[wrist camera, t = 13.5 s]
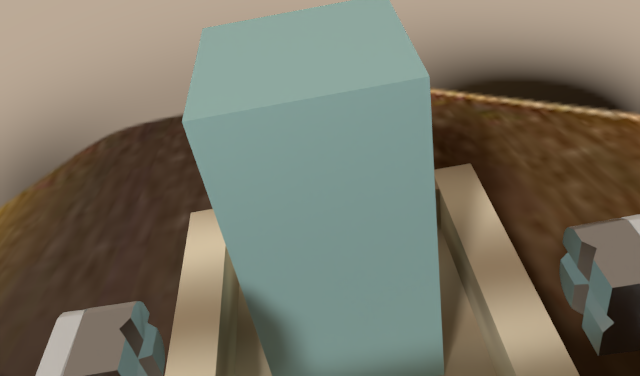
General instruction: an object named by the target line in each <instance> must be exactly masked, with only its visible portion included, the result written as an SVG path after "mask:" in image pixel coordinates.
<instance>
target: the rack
mask: <svg viewBox="0 0 640 376" xmlns="http://www.w3.org/2000/svg"><path fill="white" fill-rule="evenodd" d="M434 178H435V198H436V218H437V238H438V258H439V278H440V298H441V319H442V339H443V359H444V375H441V376H580V375H579V373H578V371H577V369H576V368H575V366H574V364H573V362H572V360H571V358H570V356H569V354H568V352H567V350H566V348H565V346H564V344H563V342H562V340H561V338H560V336H559V334H558V332H557V331H556V329H555V327H554V325H553V323H552V321H551V319H550V317H549V315H548V313H547V311H546V309H545V307H544V305H543V303H542V301H541V299H540V297H539V296H538V294H537V292H536V290H535V288H534V286H533V284H532V282H531V280H530V278H529V276H528V274H527V272H526V270H525V268H524V266H523V264H522V262H521V260H520V259H519V257H518V255H517V253H516V251H515V249H514V247H513V245H512V243H511V241H510V239H509V237H508V235H507V233H506V231H505V229H504V227H503V225H502V224H501V222H500V220H499V218H498V216H497V214H496V212H495V210H494V208H493V206H492V204H491V202H490V200H489V198H488V196H487V194H486V192H485V190H484V188H483V187H482V185H481V183H480V181H479V179H478V177H477V175H476V173H475V171H474V169H473V167H472V165H471V163H470V164H464V165H459V166H453V167H447V168H442V169H436V170H434ZM165 376H272V374H271V371H270V368H269V365H268V362H267V359H266V357H265V354H264V351H263V348H262V345H261V343H260V340H259V337H258V334H257V331H256V329H255V326H254V323H253V320H252V317H251V314H250V312H249V309H248V306H247V303H246V300H245V298H244V295H243V292H242V289H241V286H240V284H239V281H238V278H237V275H236V272H235V269H234V267H233V264H232V261H231V258H230V255H229V253H228V250H227V247H226V244H225V241H224V239H223V236H222V233H221V230H220V227H219V225H218V222H217V219H216V216H215V213H214V210H213V209H210V210H204V211H199V212H193V213H191V216H190V223H189V229H188V235H187V241H186V247H185V254H184V260H183V266H182V272H181V279H180V285H179V291H178V297H177V304H176V310H175V316H174V322H173V328H172V335H171V341H170V347H169V353H168V360H167V366H166V372H165Z"/></svg>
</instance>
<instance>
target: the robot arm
mask: <svg viewBox="0 0 640 376" xmlns="http://www.w3.org/2000/svg"><path fill="white" fill-rule="evenodd" d="M563 245H564V246H565V248H566V250H567V251H568V253H567V254H566V255H565V256H564V257H563V258H562V259H561V260H560V279H561V285H562V289H563V291H564V294H565V297H566V299H567V301H568V303H569V304H570V306H571V308H572V309H574V310H576V311H577V312H579V313H581V314H582V315H584V316H583V323H582V328H583V330H584V332H585V333H586V335H587V337H588V339H589V340H590V342H591V344H592V346H593V348H594V349H595V351H596V353H597V355H598V356H602V355H609V354H617V353H624V352H632V351H639V350H640V214H639V215H633V216H628V217H622V218H621V219H620V218H617V219H611V220H606V221H600V222H595V223H589V224H584V225H578V226H572V227H567V229H566V231H565V232H564V237H563ZM148 317H149V312H148V310H147V309H146V307H145V305H144V303H143V302H139V301H136V302H129V303H122V304H115V305H108V306H102V307H95V308H88V309H85V310H78V311H71V312H64V313H63V314H62V315H61V316H60V317H59V318H58V319H57V321H56V323H55V326H54V328H53V331H52V334H51V336H50V339H49V341H48V344H47V347H46V349H45V352H44V354H43V357H42V360H41V362H40V365H39V368H38V370H37V373H36V375H35V376H163V372H164V365H165V354H164V345H163V341H162V338H161V335H160V333H159V331H158V329H157V328H156V327H154V326H152V325H150V324H148V323H147V322H148Z"/></svg>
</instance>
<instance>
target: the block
mask: <svg viewBox="0 0 640 376" xmlns="http://www.w3.org/2000/svg"><path fill="white" fill-rule="evenodd" d="M182 123H183V126H184V129H185V132H186V135H187V137H188V140H189V143H190V146H191V149H192V151H193V154H194V157H195V160H196V163H197V165H198V168H199V171H200V174H201V177H202V180H203V182H204V185H205V188H206V191H207V194H208V196H209V199H210V202H211V205H212V208H213V210H214V213H215V216H216V219H217V222H218V225H219V227H220V230H221V233H222V236H223V239H224V241H225V244H226V247H227V250H228V253H229V255H230V258H231V261H232V264H233V267H234V269H235V272H236V275H237V278H238V281H239V284H240V286H241V289H242V292H243V295H244V298H245V300H246V303H247V306H248V309H249V312H250V314H251V317H252V320H253V323H254V326H255V329H256V331H257V334H258V337H259V340H260V343H261V345H262V348H263V351H264V354H265V357H266V359H267V362H268V365H269V368H270V371H271V374H272V376H441V375H444V359H443V339H442V319H441V298H440V278H439V258H438V238H437V218H436V198H435V178H434V158H433V138H432V118H431V98H430V79H429V75H428V73H427V71H426V69H425V67H424V65H423V63H422V62H421V60H420V58H419V56H418V54H417V52H416V50H415V48H414V46H413V44H412V42H411V41H410V39H409V37H408V35H407V33H406V31H405V29H404V27H403V25H402V24H401V22H400V20H399V18H398V16H397V14H396V12H395V10H394V8H393V7H392V5H391V3H390V1H389V0H351V1H346V2H341V3H335V4H330V5H325V6H320V7H314V8H309V9H304V10H299V11H293V12H288V13H283V14H277V15H272V16H267V17H261V18H256V19H251V20H245V21H240V22H235V23H229V24H224V25H219V26H214V27H208V28H203V30H202V34H201V39H200V44H199V48H198V52H197V57H196V61H195V66H194V70H193V75H192V79H191V84H190V88H189V92H188V97H187V101H186V106H185V110H184V115H183V119H182Z"/></svg>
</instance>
